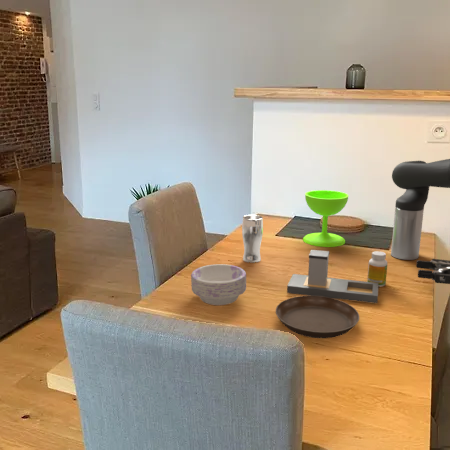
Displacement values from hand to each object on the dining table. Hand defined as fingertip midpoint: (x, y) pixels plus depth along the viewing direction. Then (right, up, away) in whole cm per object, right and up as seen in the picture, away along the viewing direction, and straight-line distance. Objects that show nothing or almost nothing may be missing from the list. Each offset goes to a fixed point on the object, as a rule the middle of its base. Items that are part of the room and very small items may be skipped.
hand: (417, 268), depth 153 cm
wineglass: (-18, +7, +47) cm, 51 cm away
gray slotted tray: (-25, -6, -1) cm, 26 cm away
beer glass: (-47, +1, +25) cm, 53 cm away
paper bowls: (-58, -8, -7) cm, 59 cm away
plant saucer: (-33, -12, -21) cm, 41 cm away
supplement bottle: (-11, -5, +5) cm, 13 cm away
